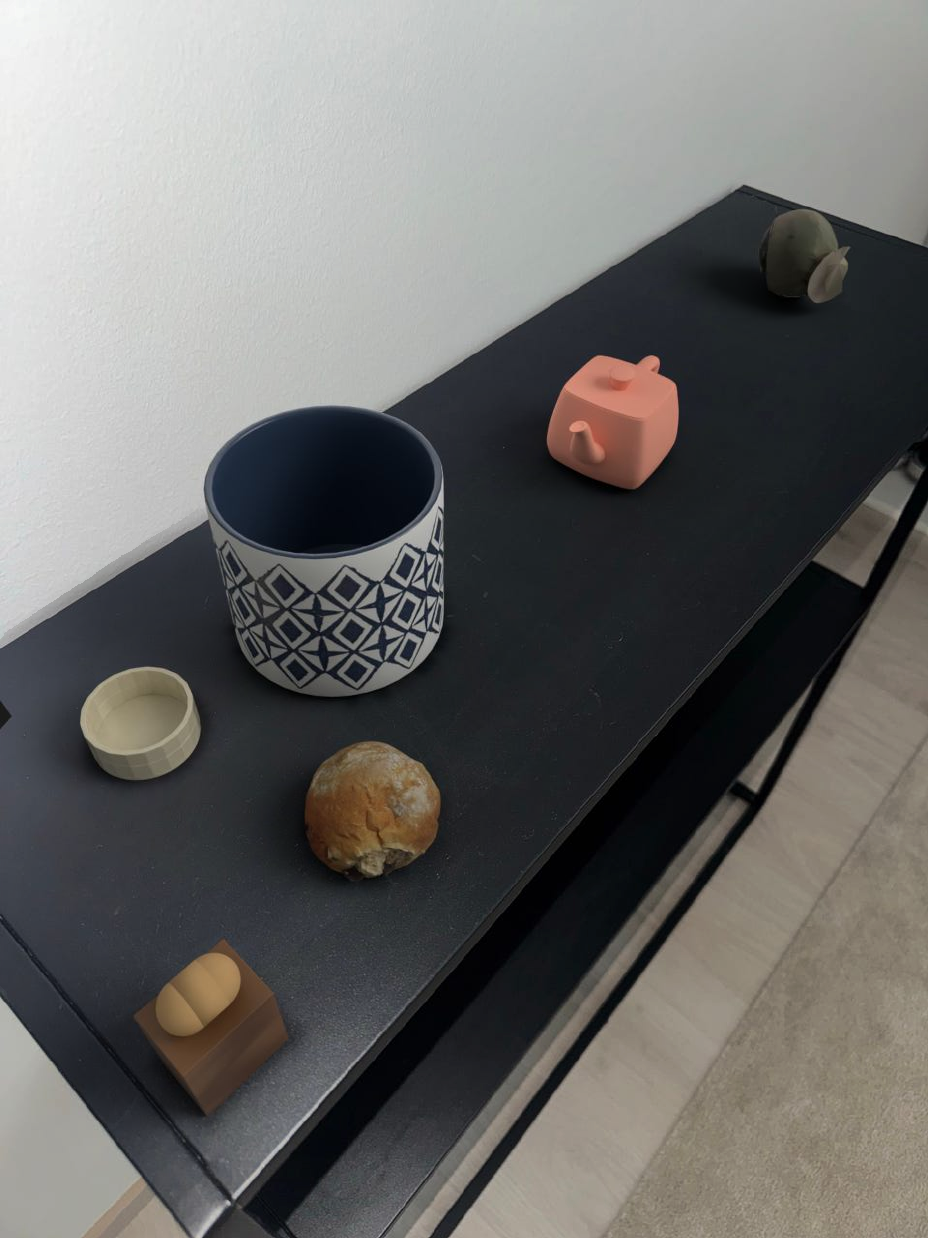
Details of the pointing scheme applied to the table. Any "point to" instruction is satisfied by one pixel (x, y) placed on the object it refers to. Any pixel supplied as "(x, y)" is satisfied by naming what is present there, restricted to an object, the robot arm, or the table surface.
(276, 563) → the planter
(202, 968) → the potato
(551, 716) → the table surface
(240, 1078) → the block
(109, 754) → the bowl
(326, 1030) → the table surface
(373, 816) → the bread roll
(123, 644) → the table surface
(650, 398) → the teapot
